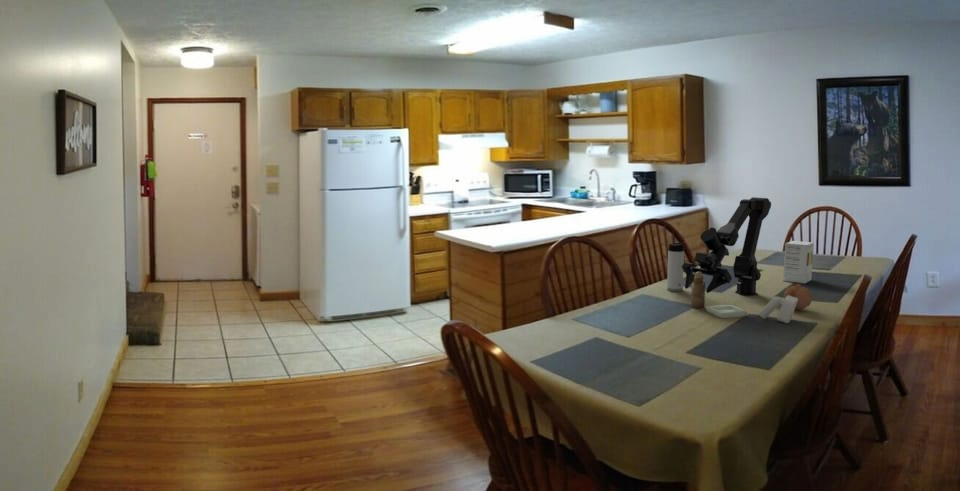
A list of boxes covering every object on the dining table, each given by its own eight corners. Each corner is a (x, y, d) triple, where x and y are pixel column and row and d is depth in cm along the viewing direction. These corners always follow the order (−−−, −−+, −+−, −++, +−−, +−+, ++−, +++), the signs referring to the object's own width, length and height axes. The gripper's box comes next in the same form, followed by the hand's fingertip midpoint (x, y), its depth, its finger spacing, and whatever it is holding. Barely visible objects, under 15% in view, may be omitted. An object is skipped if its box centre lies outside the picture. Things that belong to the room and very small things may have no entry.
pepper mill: (700, 305, 261) (701, 270, 259) (706, 308, 256) (708, 272, 254) (688, 306, 260) (689, 270, 258) (695, 309, 255) (696, 273, 253)
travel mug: (684, 291, 283) (685, 244, 279) (667, 291, 284) (669, 243, 281) (682, 288, 289) (684, 241, 285) (666, 288, 290) (668, 241, 287)
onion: (787, 305, 258) (788, 279, 256) (814, 309, 252) (815, 283, 251) (779, 311, 251) (781, 284, 249) (807, 315, 245) (808, 287, 243)
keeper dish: (730, 309, 255) (730, 304, 254) (746, 316, 245) (746, 311, 245) (706, 311, 252) (706, 306, 252) (721, 318, 243) (721, 313, 242)
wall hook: (760, 313, 246) (768, 287, 243) (789, 323, 241) (798, 297, 238) (754, 318, 240) (763, 292, 237) (785, 329, 235) (794, 302, 232)
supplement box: (804, 283, 294) (807, 245, 291) (782, 281, 300) (784, 243, 297) (811, 280, 301) (814, 242, 298) (789, 277, 307) (792, 240, 304)
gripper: (685, 241, 264) (666, 273, 259) (728, 247, 249) (709, 281, 245) (696, 259, 270) (678, 290, 265) (739, 266, 255) (721, 299, 251)
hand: (696, 290), depth 256 cm, fingers open, 9 cm apart
